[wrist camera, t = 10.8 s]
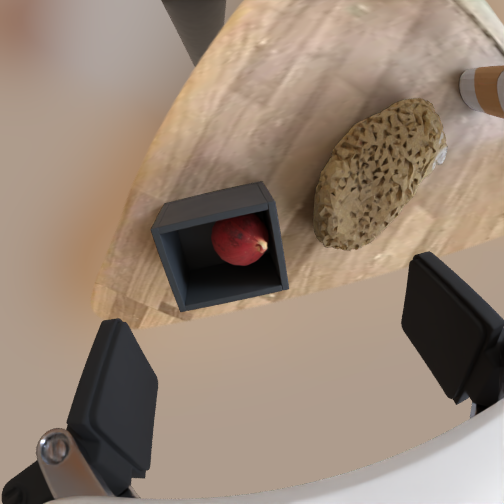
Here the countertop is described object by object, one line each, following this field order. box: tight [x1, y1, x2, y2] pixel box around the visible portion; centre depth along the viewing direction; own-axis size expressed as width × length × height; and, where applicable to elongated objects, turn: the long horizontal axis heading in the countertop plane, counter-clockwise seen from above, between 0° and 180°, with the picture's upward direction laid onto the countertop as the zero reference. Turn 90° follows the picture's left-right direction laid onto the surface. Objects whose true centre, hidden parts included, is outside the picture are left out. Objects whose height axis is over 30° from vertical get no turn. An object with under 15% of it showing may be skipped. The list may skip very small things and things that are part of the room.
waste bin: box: [151, 181, 289, 312], centre depth 32 cm, size 11×9×8 cm
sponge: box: [313, 98, 448, 251], centre depth 31 cm, size 13×8×20 cm
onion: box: [211, 213, 269, 266], centre depth 31 cm, size 6×6×8 cm
